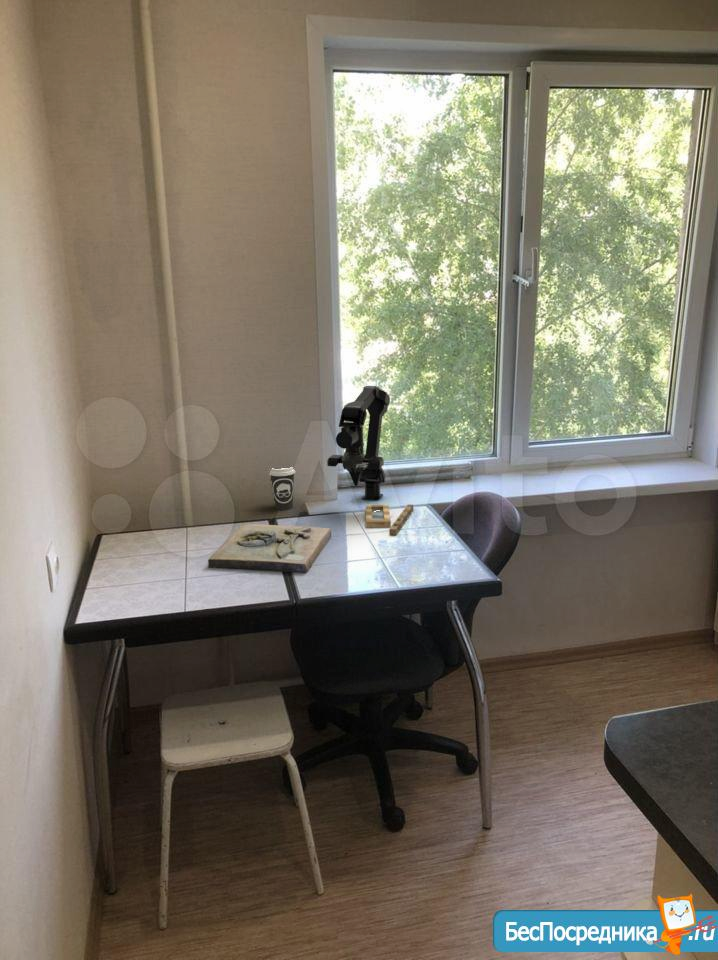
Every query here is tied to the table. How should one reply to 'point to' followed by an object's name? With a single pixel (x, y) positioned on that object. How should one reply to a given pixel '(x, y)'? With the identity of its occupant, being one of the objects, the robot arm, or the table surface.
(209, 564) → the plaque
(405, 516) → the rail
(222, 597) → the table surface
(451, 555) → the table surface
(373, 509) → the frame
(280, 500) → the coffee cup
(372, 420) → the robot arm
